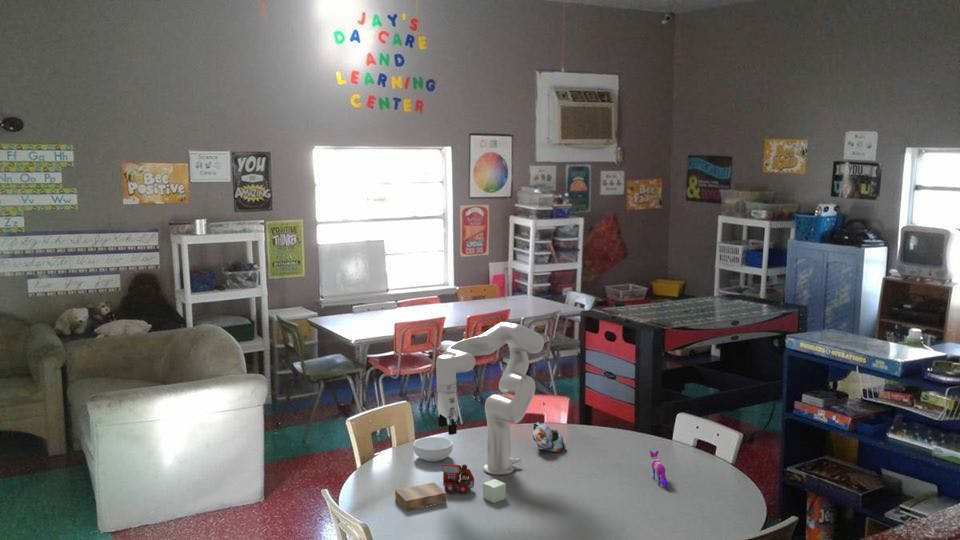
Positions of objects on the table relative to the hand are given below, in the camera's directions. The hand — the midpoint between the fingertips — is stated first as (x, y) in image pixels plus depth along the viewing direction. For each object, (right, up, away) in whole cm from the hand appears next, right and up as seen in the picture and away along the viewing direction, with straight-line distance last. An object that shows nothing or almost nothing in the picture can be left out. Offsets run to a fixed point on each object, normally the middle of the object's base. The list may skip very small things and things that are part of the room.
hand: (447, 430), depth 305 cm
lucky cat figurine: (+43, -18, +47) cm, 66 cm away
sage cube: (+18, -25, -4) cm, 31 cm away
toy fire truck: (+4, -24, +3) cm, 25 cm away
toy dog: (+84, -23, +12) cm, 88 cm away
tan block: (-10, -25, -7) cm, 28 cm away
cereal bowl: (-8, -20, +36) cm, 42 cm away
